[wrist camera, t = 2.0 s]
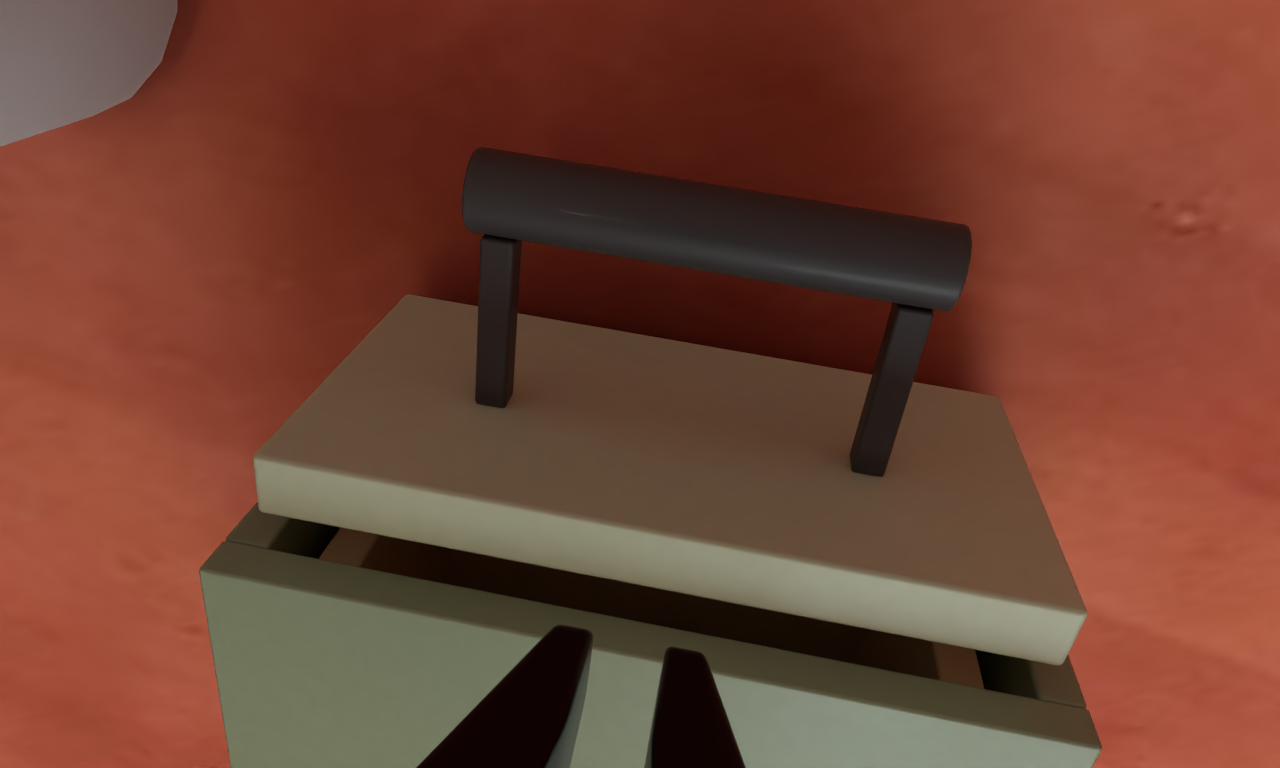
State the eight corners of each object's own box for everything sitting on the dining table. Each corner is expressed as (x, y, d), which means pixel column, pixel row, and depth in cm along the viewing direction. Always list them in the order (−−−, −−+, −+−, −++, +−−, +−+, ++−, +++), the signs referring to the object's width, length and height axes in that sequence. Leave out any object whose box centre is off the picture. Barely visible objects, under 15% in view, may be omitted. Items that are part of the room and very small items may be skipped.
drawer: (402, 78, 18) (216, 171, 12) (1077, 185, 17) (1227, 339, 11) (410, 722, 28) (307, 949, 22) (845, 812, 27) (861, 1074, 21)
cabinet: (396, 340, 22) (196, 569, 15) (994, 446, 21) (1104, 749, 14) (403, 756, 30) (274, 1044, 22) (841, 848, 29) (860, 1181, 21)
